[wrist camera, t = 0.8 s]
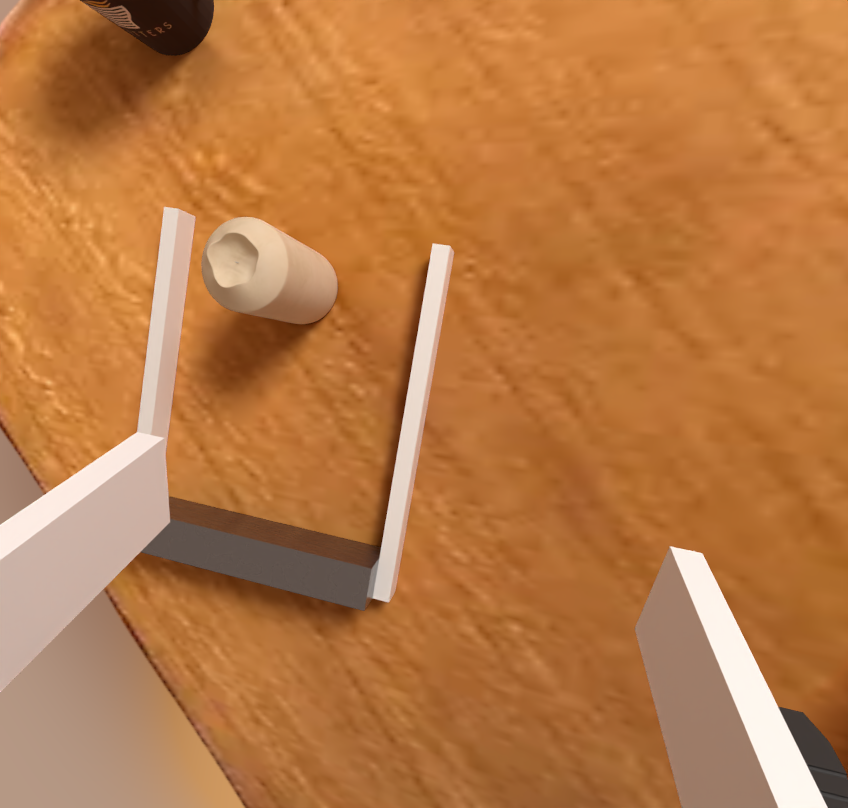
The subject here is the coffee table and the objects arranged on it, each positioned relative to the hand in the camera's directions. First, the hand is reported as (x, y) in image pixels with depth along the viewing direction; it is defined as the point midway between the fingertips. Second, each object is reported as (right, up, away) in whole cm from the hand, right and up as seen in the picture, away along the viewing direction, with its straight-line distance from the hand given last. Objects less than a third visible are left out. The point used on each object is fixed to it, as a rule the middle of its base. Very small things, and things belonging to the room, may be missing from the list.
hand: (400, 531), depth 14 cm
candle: (-8, +12, +26) cm, 29 cm away
